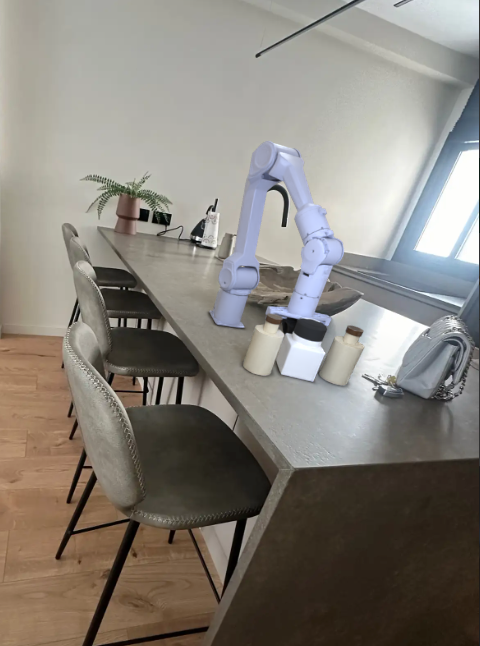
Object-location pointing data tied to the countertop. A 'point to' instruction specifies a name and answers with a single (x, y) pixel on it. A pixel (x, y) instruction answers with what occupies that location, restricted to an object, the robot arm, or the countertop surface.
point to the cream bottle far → (342, 357)
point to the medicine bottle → (302, 350)
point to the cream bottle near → (264, 346)
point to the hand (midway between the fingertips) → (286, 348)
